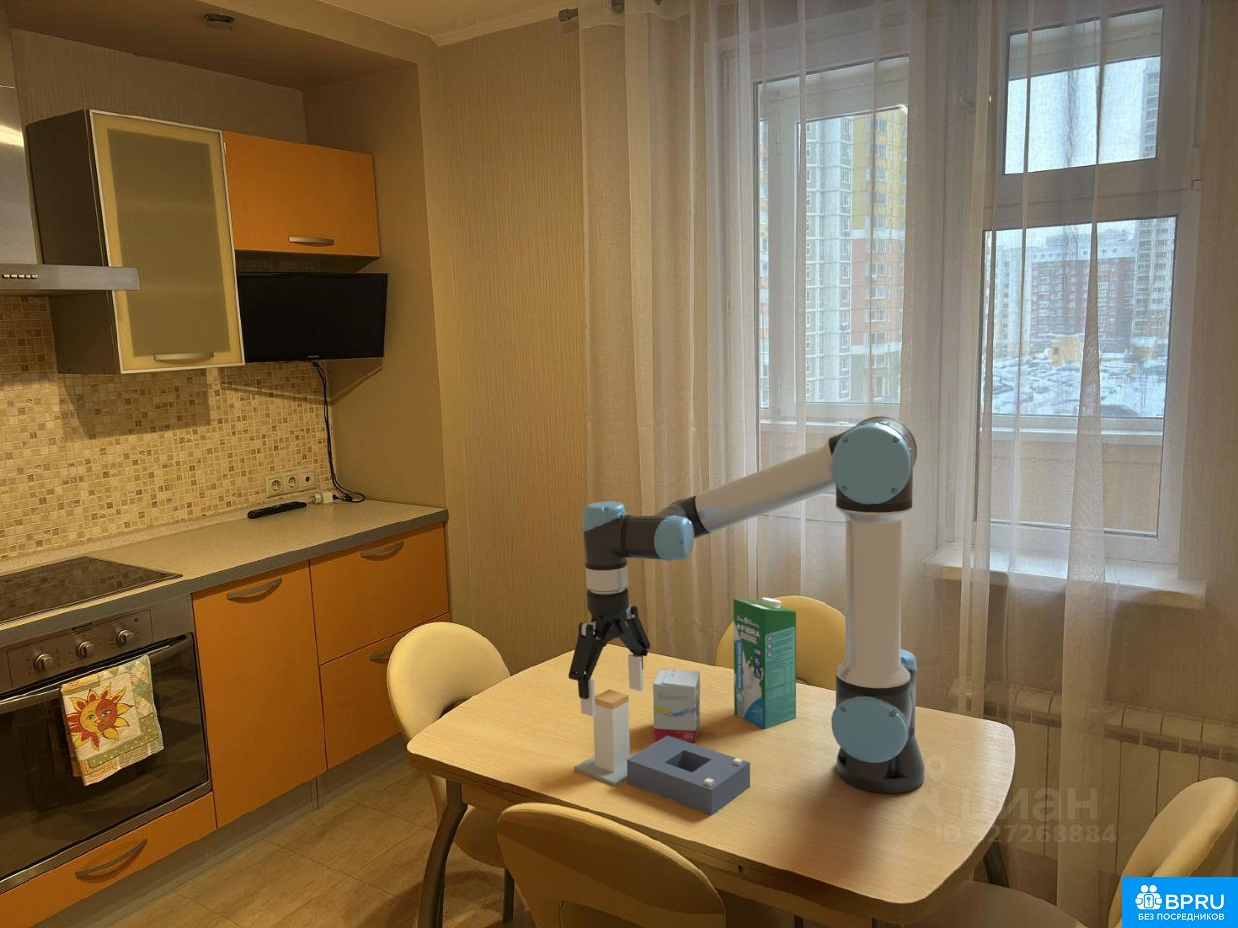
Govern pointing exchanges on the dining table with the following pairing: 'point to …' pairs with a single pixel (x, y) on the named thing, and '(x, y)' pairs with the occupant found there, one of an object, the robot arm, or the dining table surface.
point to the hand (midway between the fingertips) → (613, 701)
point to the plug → (611, 730)
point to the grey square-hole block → (689, 774)
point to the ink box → (676, 704)
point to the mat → (602, 772)
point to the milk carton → (764, 662)
